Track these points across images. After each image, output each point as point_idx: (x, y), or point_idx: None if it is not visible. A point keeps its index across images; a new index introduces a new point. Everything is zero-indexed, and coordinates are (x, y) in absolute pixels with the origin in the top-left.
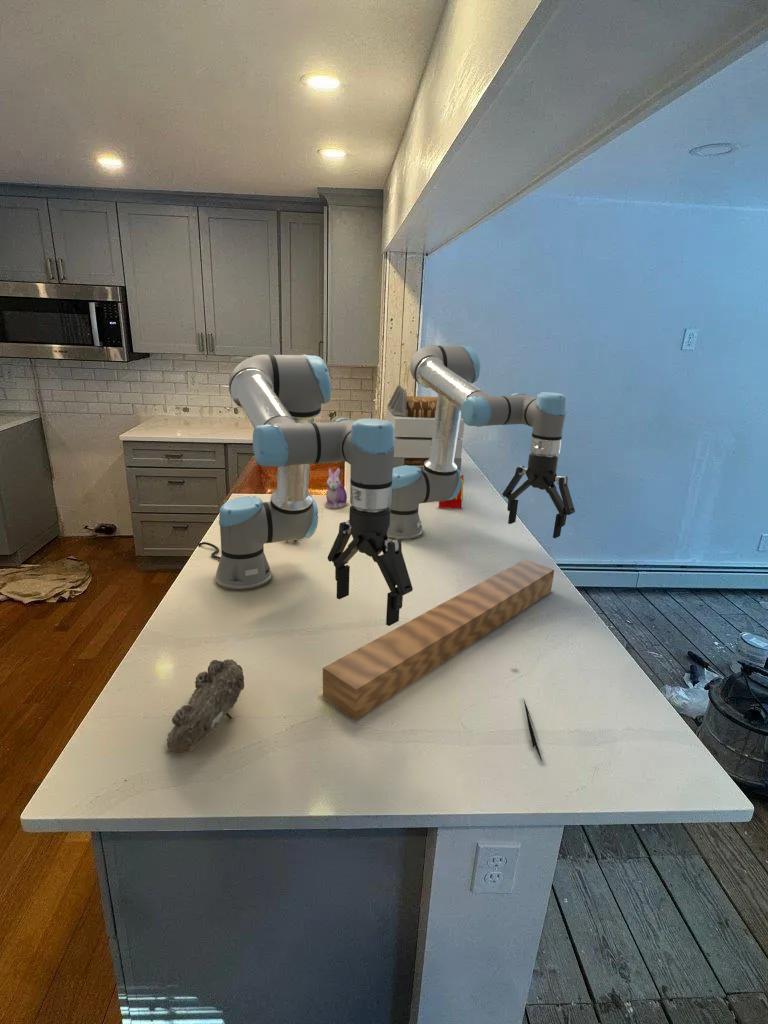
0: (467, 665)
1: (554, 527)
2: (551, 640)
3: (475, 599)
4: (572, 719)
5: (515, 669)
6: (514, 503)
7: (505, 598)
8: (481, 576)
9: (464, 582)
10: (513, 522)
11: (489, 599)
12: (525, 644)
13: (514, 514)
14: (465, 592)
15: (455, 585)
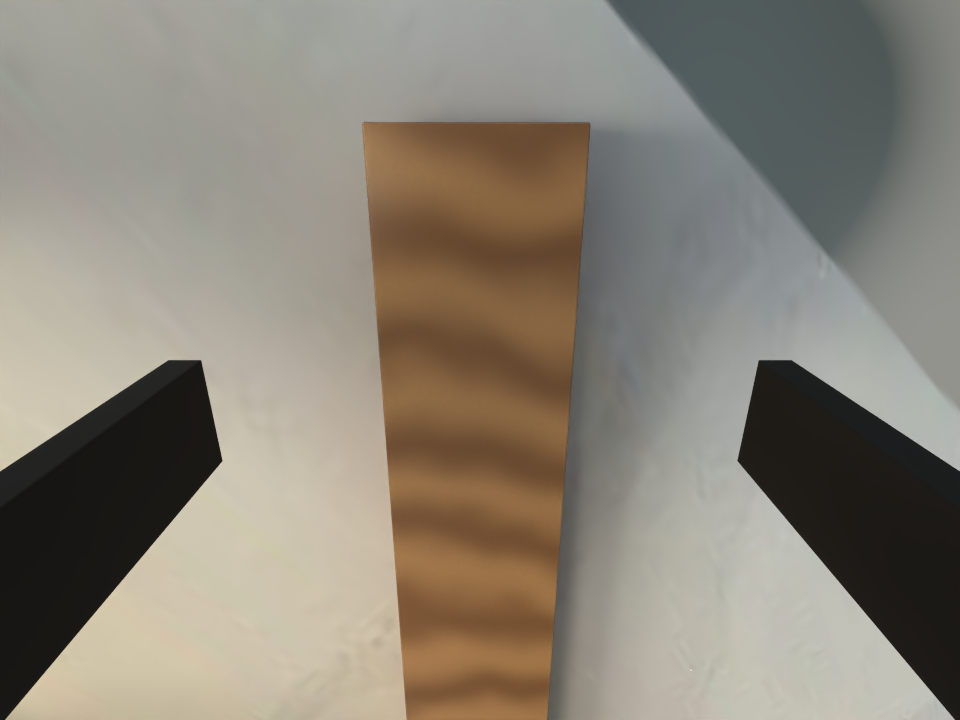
0: (581, 716)
1: (808, 541)
2: (720, 490)
3: (471, 664)
4: (867, 713)
5: (691, 670)
6: (12, 642)
7: (552, 590)
8: (230, 252)
9: (232, 365)
10: (207, 403)
11: (510, 634)
12: (660, 560)
13: (147, 458)
14: (409, 651)
15: (232, 414)
